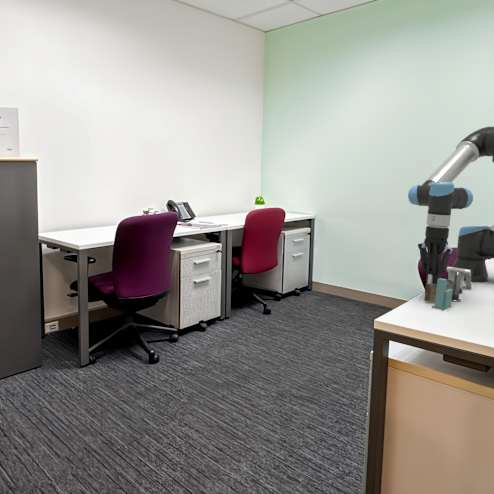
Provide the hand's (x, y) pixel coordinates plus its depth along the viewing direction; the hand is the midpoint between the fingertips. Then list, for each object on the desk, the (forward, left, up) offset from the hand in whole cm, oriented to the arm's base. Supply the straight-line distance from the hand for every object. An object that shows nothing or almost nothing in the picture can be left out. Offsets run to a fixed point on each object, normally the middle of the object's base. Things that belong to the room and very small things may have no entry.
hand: (430, 291), depth 168 cm
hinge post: (-7, +6, -3) cm, 10 cm away
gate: (0, +3, -2) cm, 4 cm away
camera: (-21, -1, -4) cm, 21 cm away
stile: (+6, +6, -3) cm, 9 cm away
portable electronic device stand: (-28, 0, -3) cm, 29 cm away
